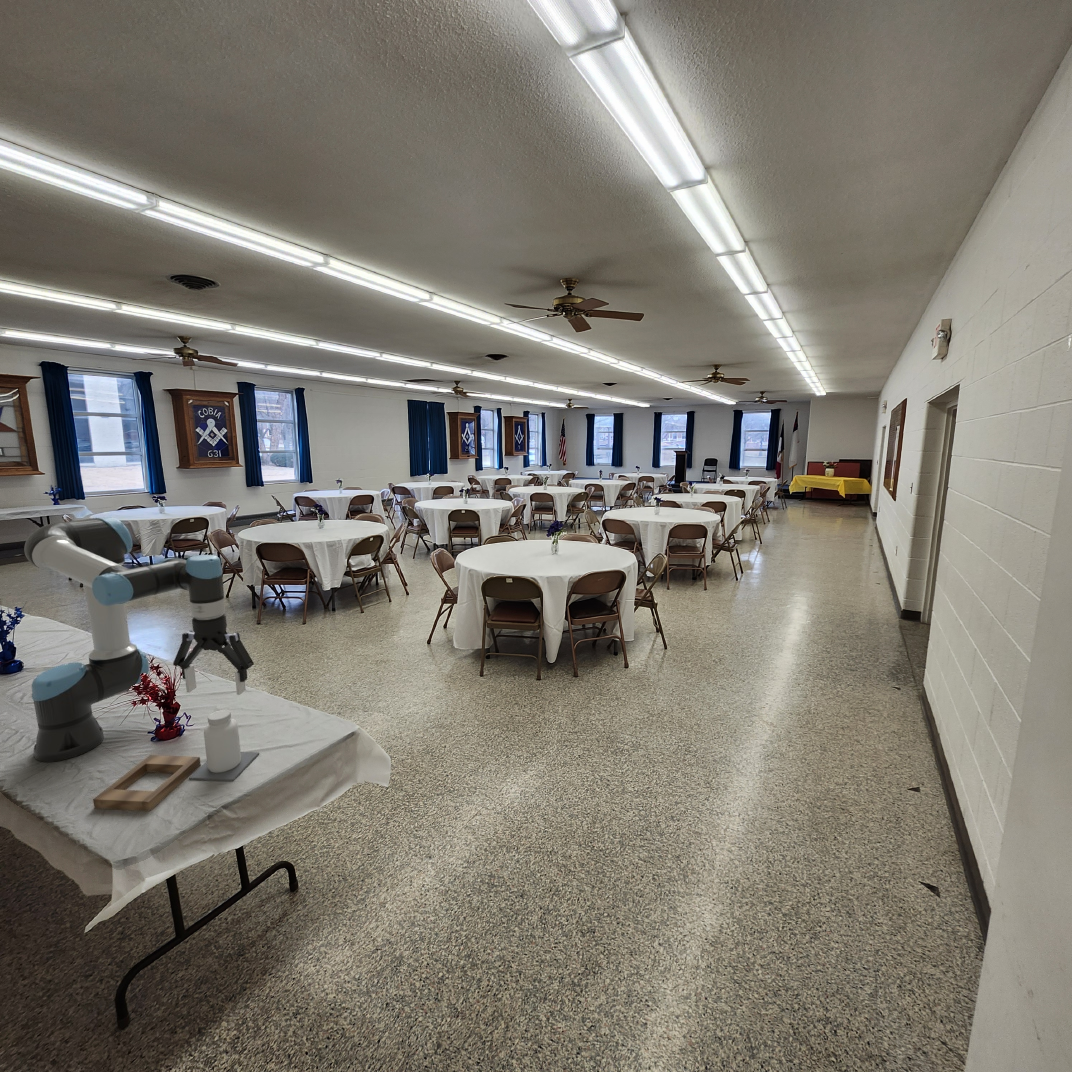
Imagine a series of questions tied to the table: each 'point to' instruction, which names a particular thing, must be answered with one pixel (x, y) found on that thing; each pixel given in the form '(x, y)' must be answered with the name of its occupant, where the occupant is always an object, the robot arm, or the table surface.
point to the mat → (229, 775)
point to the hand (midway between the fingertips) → (216, 691)
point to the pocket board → (146, 800)
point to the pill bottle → (222, 742)
